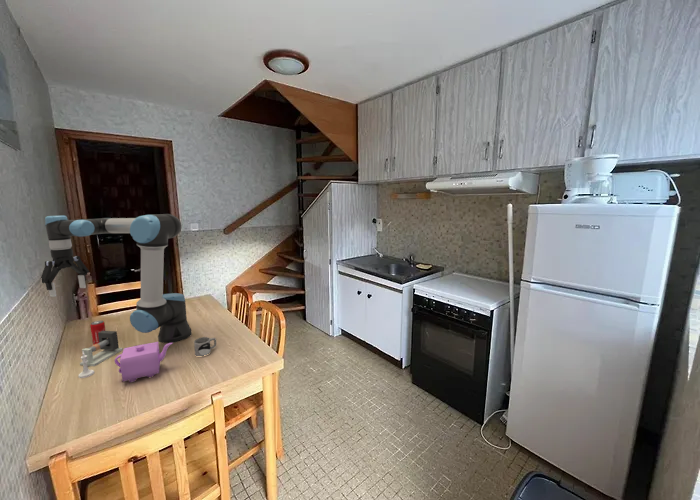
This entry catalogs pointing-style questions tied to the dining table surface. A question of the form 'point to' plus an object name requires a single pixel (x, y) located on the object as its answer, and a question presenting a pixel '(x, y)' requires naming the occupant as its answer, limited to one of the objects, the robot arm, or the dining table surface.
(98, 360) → the pipe rig
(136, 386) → the dining table surface
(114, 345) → the collar
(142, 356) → the teapot
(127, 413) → the dining table surface
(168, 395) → the dining table surface
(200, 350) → the mug
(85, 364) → the chess piece
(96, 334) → the beverage can
